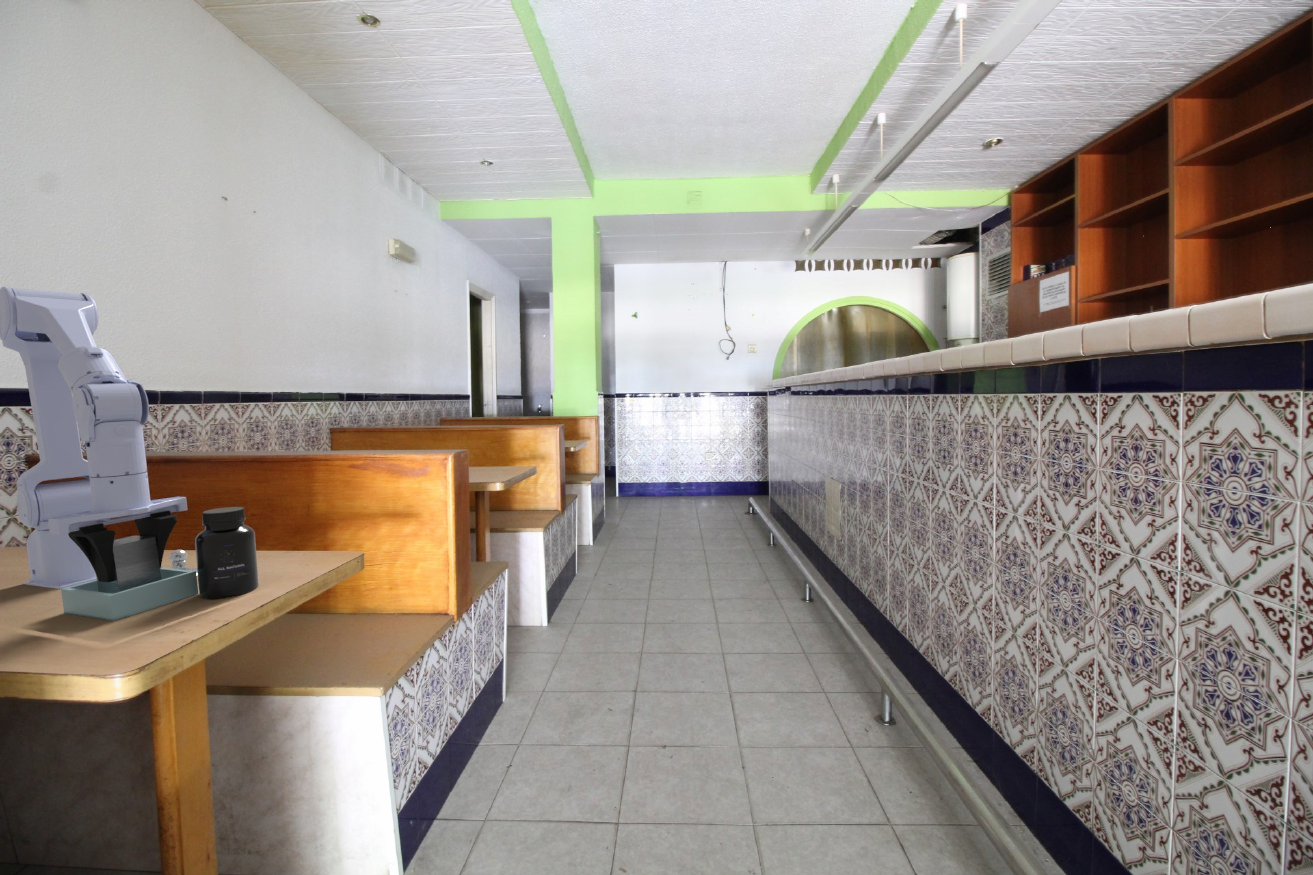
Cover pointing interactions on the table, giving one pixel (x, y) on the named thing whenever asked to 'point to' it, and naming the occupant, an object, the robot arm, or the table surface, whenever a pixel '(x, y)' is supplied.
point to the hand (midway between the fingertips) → (130, 574)
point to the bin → (129, 596)
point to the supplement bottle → (226, 554)
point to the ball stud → (180, 560)
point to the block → (133, 564)
